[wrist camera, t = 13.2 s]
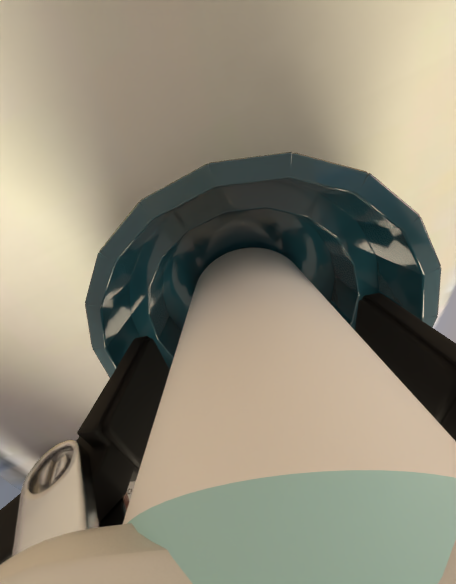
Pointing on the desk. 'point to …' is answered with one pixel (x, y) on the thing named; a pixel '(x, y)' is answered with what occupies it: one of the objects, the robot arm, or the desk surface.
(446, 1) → the desk surface
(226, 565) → the can
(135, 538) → the robot arm
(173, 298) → the bowl
